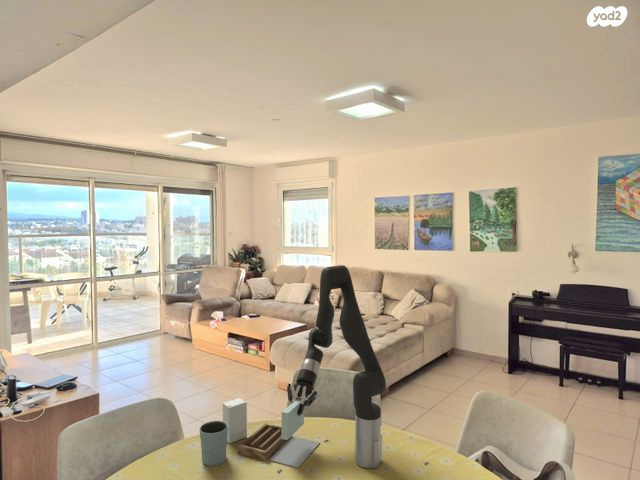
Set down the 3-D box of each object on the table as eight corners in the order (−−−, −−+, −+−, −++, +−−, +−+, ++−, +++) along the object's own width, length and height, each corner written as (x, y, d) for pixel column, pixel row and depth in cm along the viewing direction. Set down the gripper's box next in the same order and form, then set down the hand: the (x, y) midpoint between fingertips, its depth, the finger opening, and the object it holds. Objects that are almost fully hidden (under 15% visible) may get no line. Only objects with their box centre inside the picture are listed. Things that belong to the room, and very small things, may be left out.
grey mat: (319, 443, 163) (319, 442, 163) (298, 468, 145) (298, 467, 145) (292, 437, 167) (292, 436, 167) (268, 460, 150) (268, 459, 150)
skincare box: (240, 432, 171) (240, 396, 171) (247, 437, 166) (247, 401, 166) (221, 438, 166) (222, 401, 166) (228, 444, 161) (228, 406, 161)
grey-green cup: (220, 468, 145) (220, 434, 144) (193, 465, 147) (194, 431, 147) (232, 453, 155) (232, 421, 154) (207, 450, 157) (207, 419, 156)
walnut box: (291, 436, 168) (291, 428, 168) (265, 460, 150) (265, 452, 150) (265, 430, 173) (265, 423, 173) (238, 453, 155) (238, 445, 155)
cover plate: (303, 423, 163) (304, 398, 163) (287, 440, 150) (287, 413, 150) (298, 422, 164) (298, 397, 164) (281, 438, 151) (281, 411, 151)
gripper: (290, 365, 169) (275, 406, 158) (321, 370, 164) (308, 413, 153) (296, 374, 174) (282, 414, 163) (326, 379, 169) (314, 421, 158)
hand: (294, 414), depth 158 cm, fingers closed on cover plate, 2 cm apart
